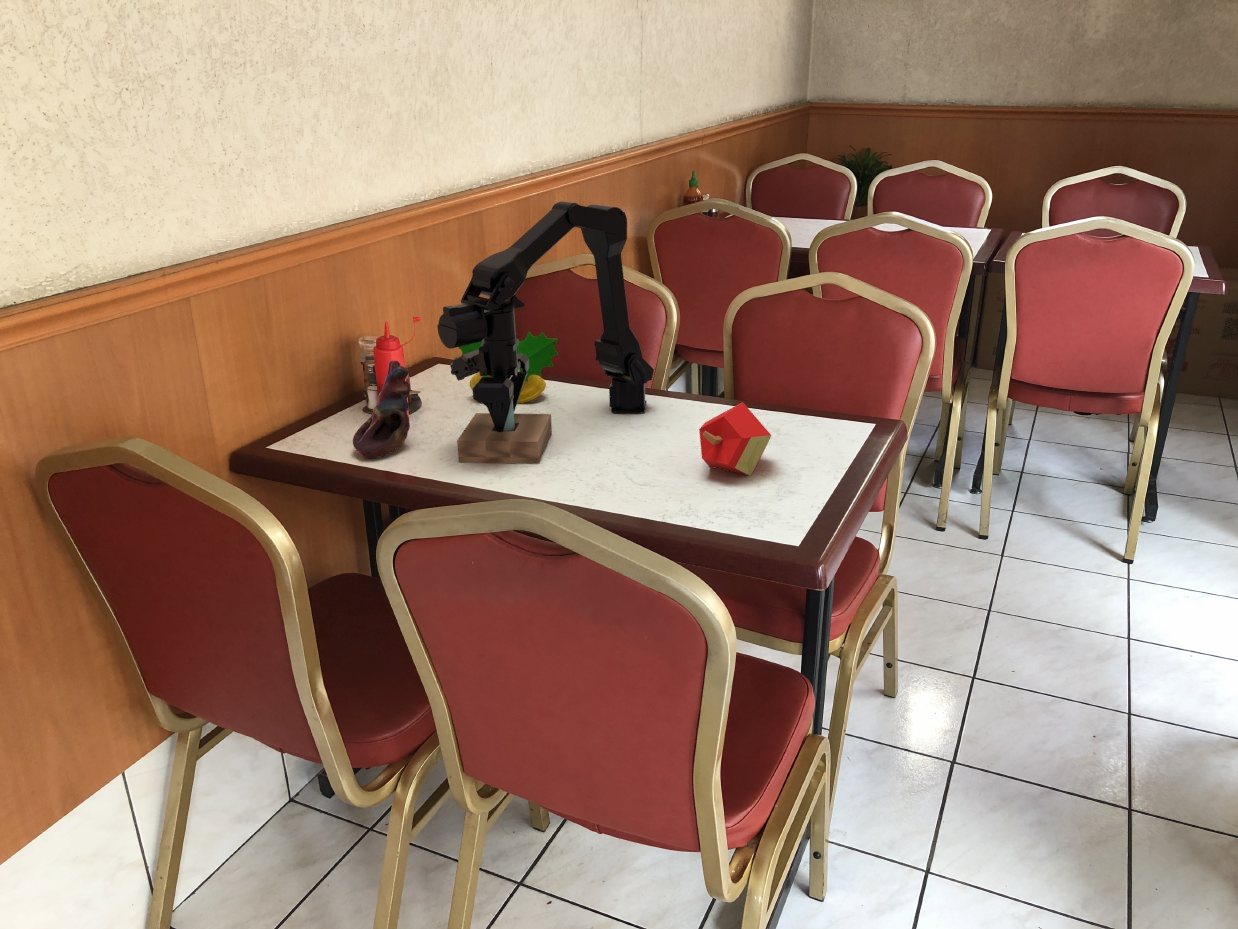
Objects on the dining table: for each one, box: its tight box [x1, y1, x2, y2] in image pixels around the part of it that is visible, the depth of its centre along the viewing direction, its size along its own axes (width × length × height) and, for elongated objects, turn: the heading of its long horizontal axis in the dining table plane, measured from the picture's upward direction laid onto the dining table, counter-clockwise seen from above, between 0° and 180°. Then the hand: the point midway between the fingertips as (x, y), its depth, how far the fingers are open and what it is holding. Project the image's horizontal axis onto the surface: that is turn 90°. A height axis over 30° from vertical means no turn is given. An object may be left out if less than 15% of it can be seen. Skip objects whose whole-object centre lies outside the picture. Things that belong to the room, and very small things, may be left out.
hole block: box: [456, 412, 553, 465], centre depth 172 cm, size 14×14×4 cm
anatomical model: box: [352, 360, 411, 459], centre depth 171 cm, size 9×13×15 cm
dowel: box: [503, 400, 515, 431], centre depth 171 cm, size 3×3×8 cm
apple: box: [698, 402, 772, 477], centre depth 159 cm, size 12×12×15 cm
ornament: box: [457, 331, 559, 404], centre depth 195 cm, size 21×8×15 cm, turn 84°
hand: (505, 422), depth 171 cm, fingers open, 9 cm apart
